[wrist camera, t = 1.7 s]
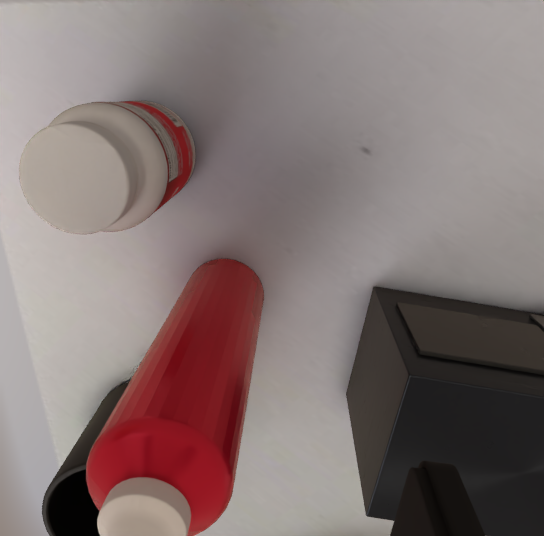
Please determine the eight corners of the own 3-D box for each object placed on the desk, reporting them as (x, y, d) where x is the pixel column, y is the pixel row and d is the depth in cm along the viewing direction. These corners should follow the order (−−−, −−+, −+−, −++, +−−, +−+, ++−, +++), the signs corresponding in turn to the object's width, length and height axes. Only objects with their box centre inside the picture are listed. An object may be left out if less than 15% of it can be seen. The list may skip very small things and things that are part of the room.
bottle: (253, 337, 34) (201, 629, 16) (180, 318, 34) (38, 592, 15) (272, 269, 32) (239, 509, 14) (195, 249, 32) (53, 465, 13)
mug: (223, 354, 35) (200, 437, 26) (212, 480, 39) (188, 587, 31) (97, 338, 35) (33, 416, 26) (99, 465, 39) (44, 568, 31)
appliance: (376, 275, 32) (413, 361, 22) (577, 309, 32) (708, 410, 22) (345, 394, 36) (365, 516, 25) (527, 424, 36) (621, 558, 25)
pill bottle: (116, 206, 31) (28, 260, 21) (89, 110, 29) (-23, 118, 19) (207, 191, 31) (162, 240, 20) (186, 92, 29) (124, 90, 18)
